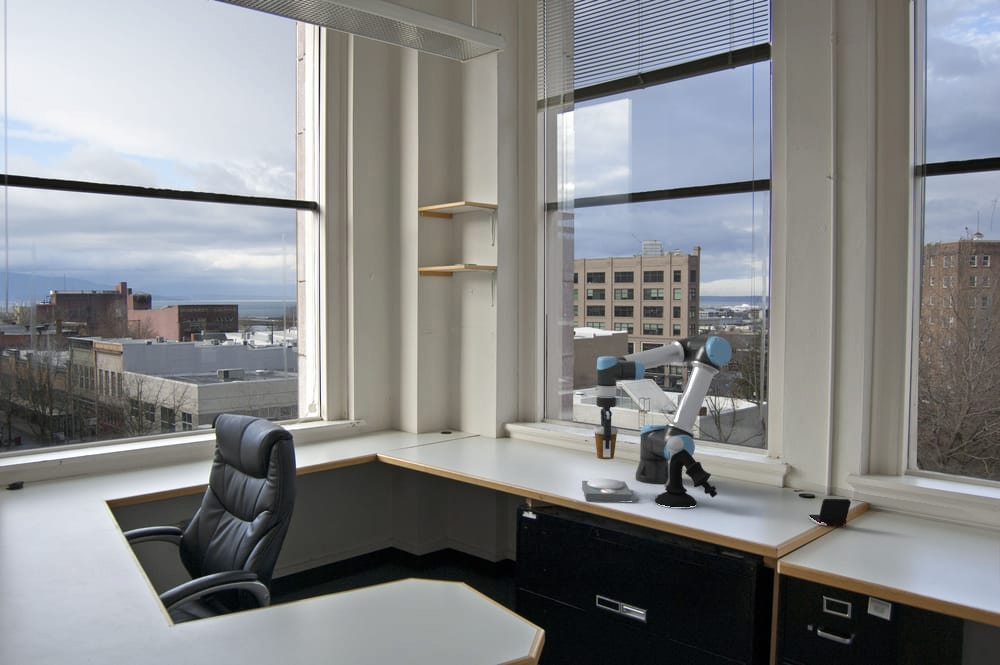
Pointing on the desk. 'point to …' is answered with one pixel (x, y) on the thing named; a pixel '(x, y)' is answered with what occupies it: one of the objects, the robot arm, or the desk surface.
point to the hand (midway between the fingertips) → (605, 454)
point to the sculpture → (674, 484)
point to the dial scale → (606, 490)
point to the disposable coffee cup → (599, 442)
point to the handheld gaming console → (833, 512)
